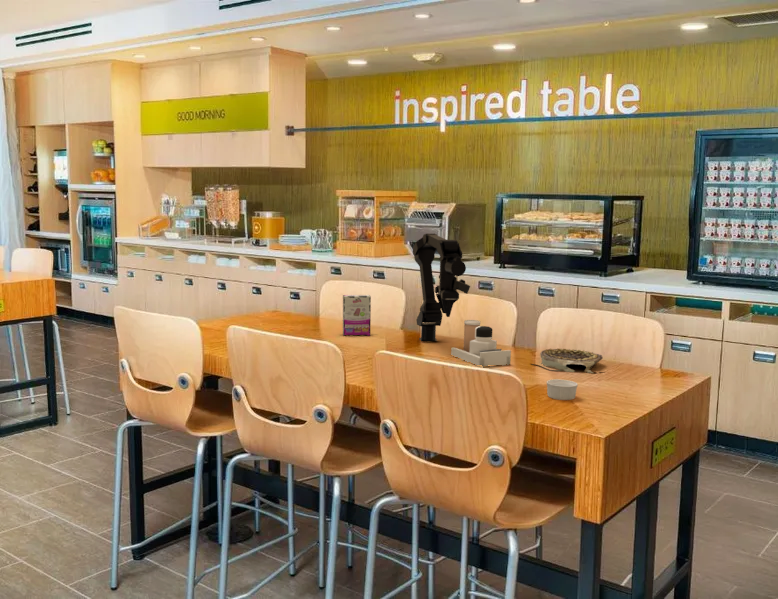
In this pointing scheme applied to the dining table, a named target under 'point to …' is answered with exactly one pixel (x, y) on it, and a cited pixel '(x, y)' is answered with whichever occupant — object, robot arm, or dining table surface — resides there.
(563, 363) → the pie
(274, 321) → the dining table surface
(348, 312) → the candy bar box
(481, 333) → the medicine bottle
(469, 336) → the spice jar
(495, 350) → the lane
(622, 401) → the dining table surface
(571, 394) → the ramekin
